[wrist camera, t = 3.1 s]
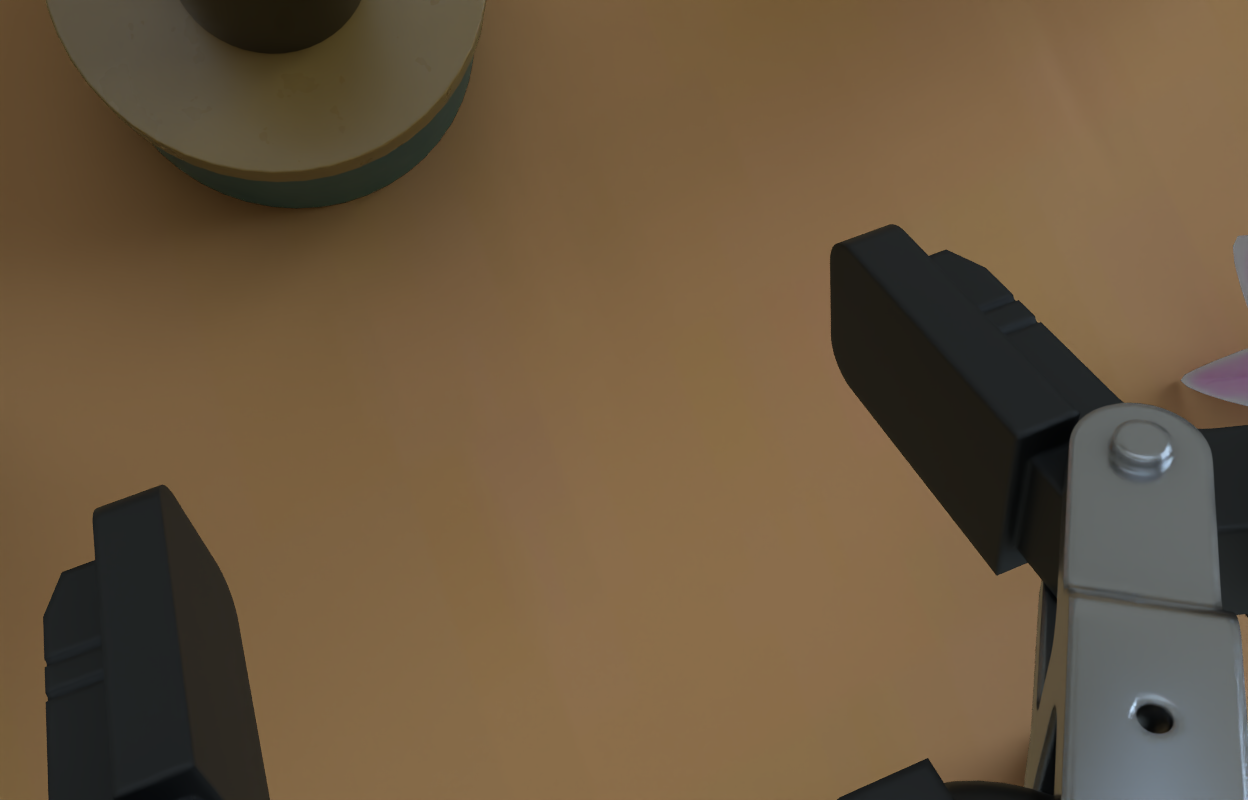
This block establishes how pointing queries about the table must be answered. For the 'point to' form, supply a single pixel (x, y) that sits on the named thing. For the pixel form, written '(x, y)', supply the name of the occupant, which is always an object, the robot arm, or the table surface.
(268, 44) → the tea tin
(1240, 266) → the lily
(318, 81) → the biscuit tin
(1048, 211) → the table surface
